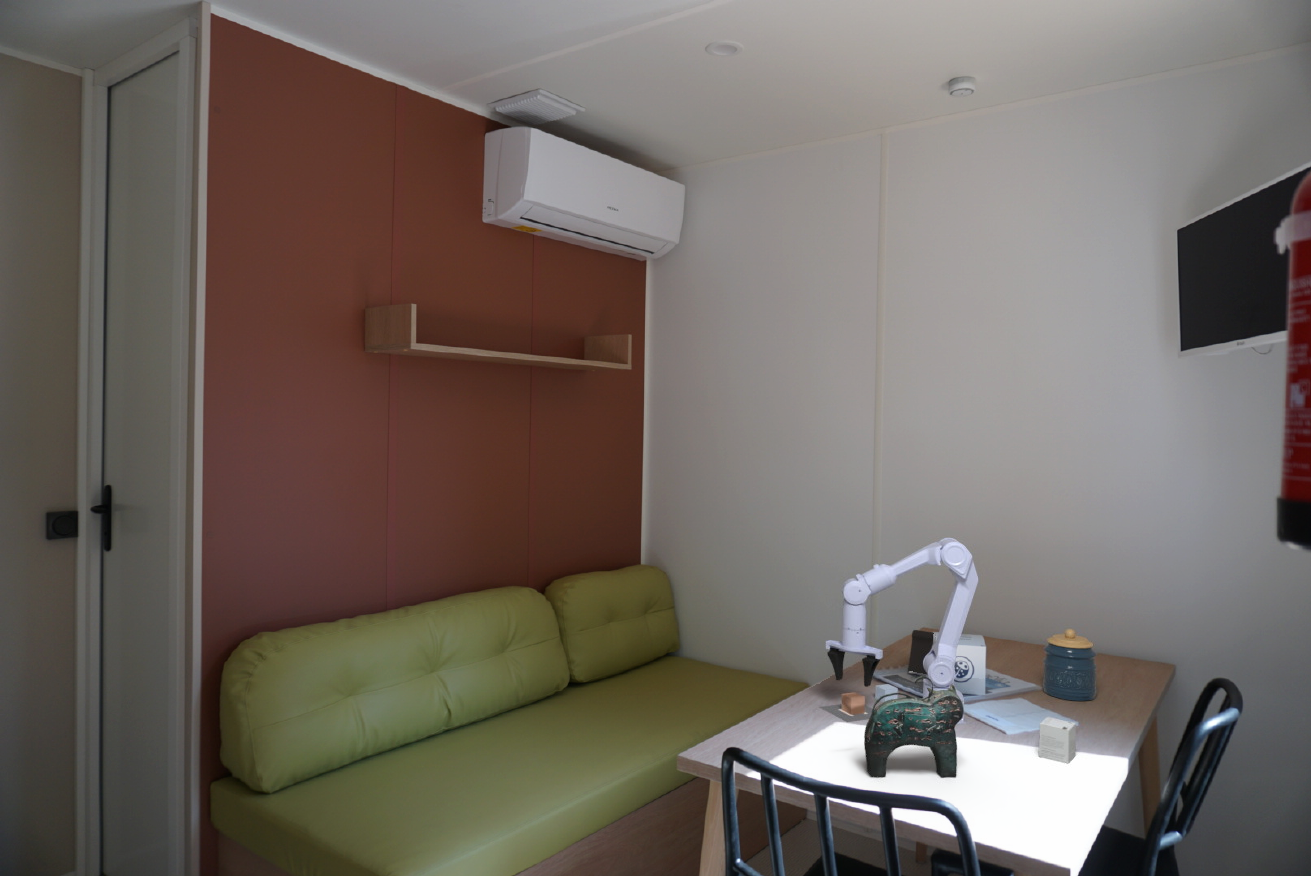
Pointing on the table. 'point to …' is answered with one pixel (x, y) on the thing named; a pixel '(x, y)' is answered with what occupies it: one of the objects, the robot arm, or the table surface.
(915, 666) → the phone stand
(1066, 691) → the canister
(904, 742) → the green animal figurine
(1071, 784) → the table surface
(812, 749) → the table surface
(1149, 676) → the table surface
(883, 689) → the pale blue cube
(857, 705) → the terracotta block
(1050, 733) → the skincare box
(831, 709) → the board
